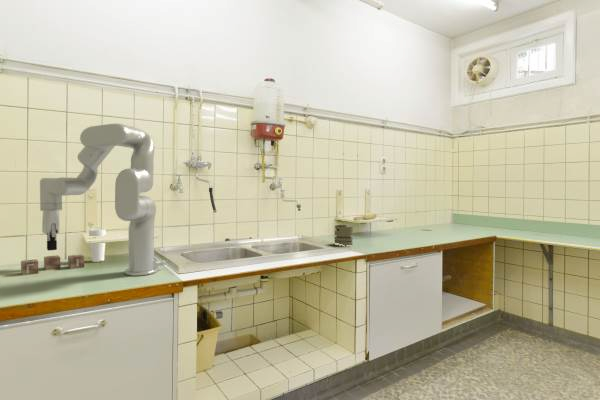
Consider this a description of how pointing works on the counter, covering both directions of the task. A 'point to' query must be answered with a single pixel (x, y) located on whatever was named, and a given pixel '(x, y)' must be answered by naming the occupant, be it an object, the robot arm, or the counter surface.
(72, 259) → the block one
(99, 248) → the white cup
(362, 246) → the counter surface
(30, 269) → the block seven
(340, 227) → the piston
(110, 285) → the counter surface
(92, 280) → the counter surface
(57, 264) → the plain block
